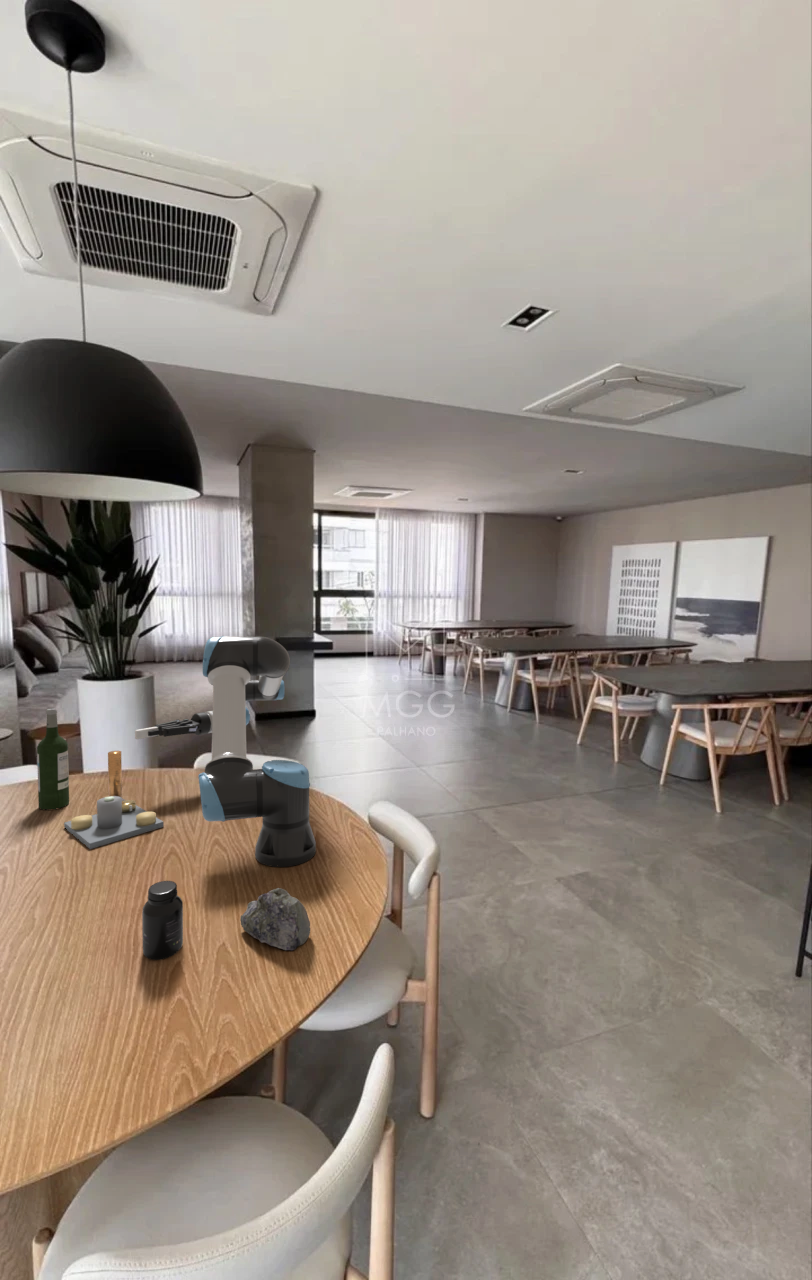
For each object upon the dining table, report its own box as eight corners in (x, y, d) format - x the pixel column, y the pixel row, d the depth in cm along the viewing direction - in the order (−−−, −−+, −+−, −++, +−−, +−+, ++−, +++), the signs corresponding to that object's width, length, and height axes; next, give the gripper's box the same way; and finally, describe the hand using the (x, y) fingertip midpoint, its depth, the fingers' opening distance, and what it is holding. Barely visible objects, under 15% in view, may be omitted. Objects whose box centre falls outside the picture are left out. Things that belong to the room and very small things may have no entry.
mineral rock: (237, 928, 107) (237, 879, 106) (288, 911, 113) (289, 864, 113) (261, 964, 97) (261, 910, 96) (316, 943, 103) (316, 892, 102)
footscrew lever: (139, 809, 161) (138, 758, 159) (122, 814, 157) (121, 761, 156) (121, 798, 169) (120, 749, 168) (104, 802, 165) (103, 752, 164)
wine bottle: (69, 807, 166) (67, 710, 164) (38, 812, 161) (35, 712, 159) (68, 799, 172) (66, 705, 170) (38, 803, 168) (35, 708, 166)
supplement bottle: (133, 955, 98) (132, 891, 97) (163, 934, 105) (162, 874, 104) (163, 965, 96) (162, 900, 95) (191, 943, 102) (190, 881, 101)
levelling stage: (163, 826, 153) (163, 795, 152) (89, 849, 139) (89, 814, 138) (134, 808, 166) (134, 779, 165) (64, 827, 151) (63, 795, 150)
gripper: (216, 736, 183) (145, 750, 165) (197, 730, 192) (127, 742, 174) (216, 715, 183) (145, 726, 165) (196, 709, 191) (127, 719, 173)
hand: (136, 734), depth 169 cm, fingers closed
